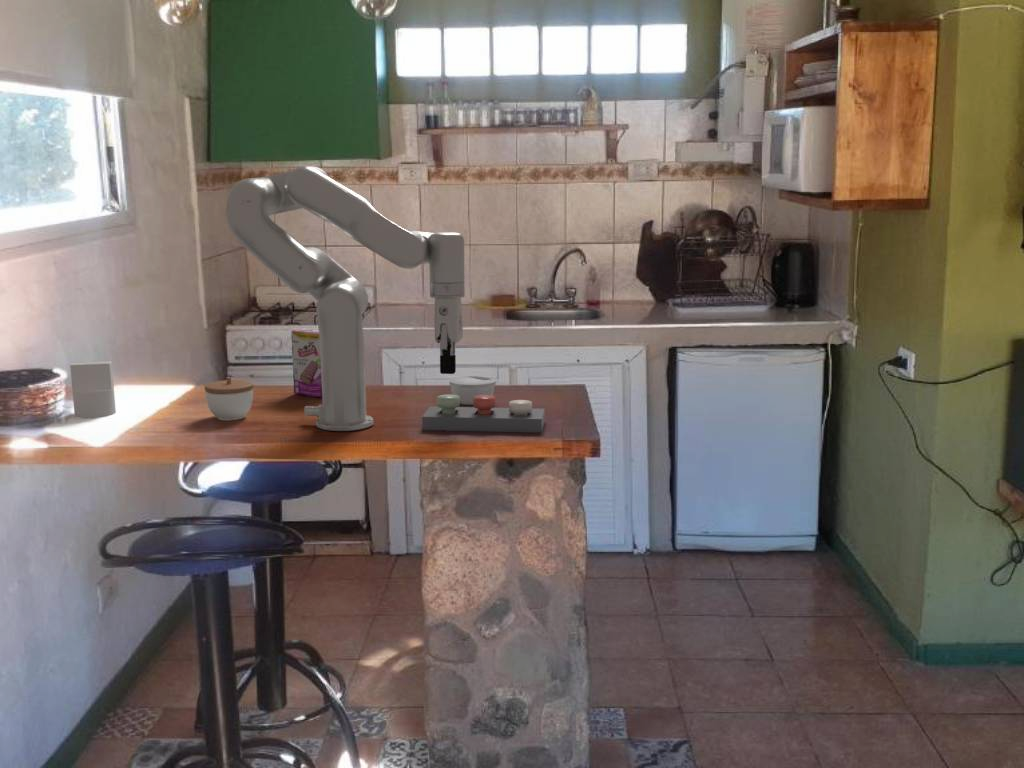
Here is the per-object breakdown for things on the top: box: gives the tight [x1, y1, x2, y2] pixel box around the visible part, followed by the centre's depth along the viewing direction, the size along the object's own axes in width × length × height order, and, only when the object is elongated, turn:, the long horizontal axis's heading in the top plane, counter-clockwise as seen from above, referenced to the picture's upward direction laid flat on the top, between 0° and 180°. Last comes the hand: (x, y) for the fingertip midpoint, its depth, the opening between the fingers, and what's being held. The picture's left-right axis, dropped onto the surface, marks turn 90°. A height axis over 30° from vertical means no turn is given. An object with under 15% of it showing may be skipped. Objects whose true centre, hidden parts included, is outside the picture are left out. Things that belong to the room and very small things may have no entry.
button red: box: [472, 395, 497, 415], centre depth 236 cm, size 5×5×5 cm
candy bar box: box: [290, 327, 322, 399], centre depth 267 cm, size 11×5×16 cm, turn 59°
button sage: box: [436, 394, 461, 414], centre depth 237 cm, size 5×5×5 cm
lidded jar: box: [204, 376, 254, 422], centre depth 244 cm, size 11×11×9 cm
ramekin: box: [449, 375, 497, 406], centre depth 261 cm, size 11×11×5 cm
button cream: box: [508, 399, 533, 416], centre depth 235 cm, size 5×5×5 cm
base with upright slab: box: [69, 360, 117, 419], centre depth 248 cm, size 9×9×12 cm
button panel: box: [421, 405, 546, 433], centre depth 236 cm, size 26×10×3 cm, turn 84°
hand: (447, 372), depth 235 cm, fingers closed
